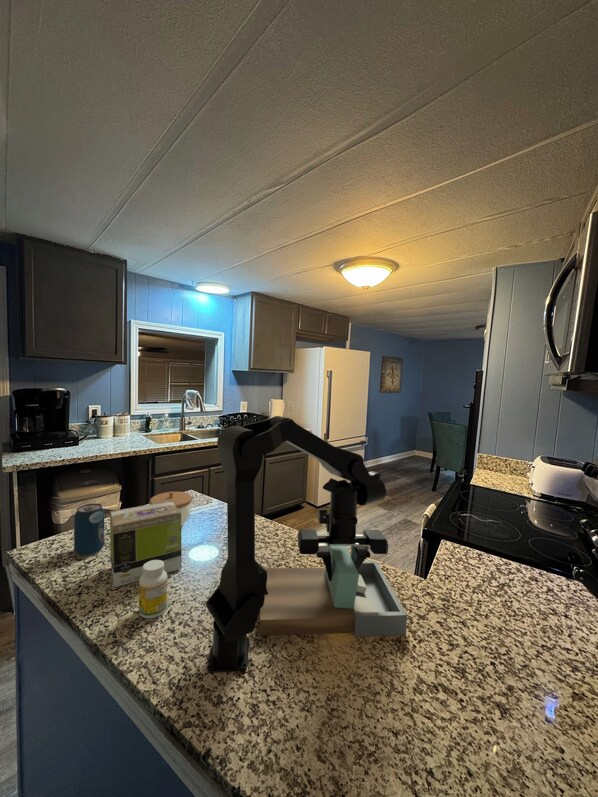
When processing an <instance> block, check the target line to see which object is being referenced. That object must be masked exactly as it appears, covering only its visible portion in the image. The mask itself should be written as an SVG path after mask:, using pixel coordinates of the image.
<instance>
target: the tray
mask: <svg viewBox="0 0 598 797" xmlns="http://www.w3.org/2000/svg"><path fill="white" fill-rule="evenodd" d="M357 571H358V574H360V575H361V576H362V578H363V581H364V583H365V585H366V587H367V588H366V591H365V594H363V593H359V592H356V596H359V597H364V598H368V599H372V601H373V603H374V605H375V608H376V610H377V612H361V613H354V633H353V635H354V637H358V638H359V637H382V636H384V637H385V636H386V637H387V636H407V626H408V625H407V624H408V614H407V612H406V610H405V609H404V607H403V605H402V603H401V601H400V600H399V598H398V597H397V595H396V593H395V591H394V589H393V587H392V586H391V584H390V582H389V581H388V578H387V577H386V575H385V573H384V572H383V570H382V568H381V566H380V564H379V562H378V561H377V560H364V562H363V563H362V564H361V566H360V567H359V569H358V570H357Z"/></svg>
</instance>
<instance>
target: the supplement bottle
mask: <svg viewBox="0 0 598 797" xmlns="http://www.w3.org/2000/svg"><path fill="white" fill-rule="evenodd" d="M167 608H168V573H166V572H165V571H164V562H163V561H161V560H152V561H149V562H147V563H145V564H144V565H143V575H142V576H141V577H140V579H139V581H138V613H139V616H140V617H142V618H144V619H155V618H157V617H159V616H161V615H162V614H164V613H165V611H166V610H167Z"/></svg>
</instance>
